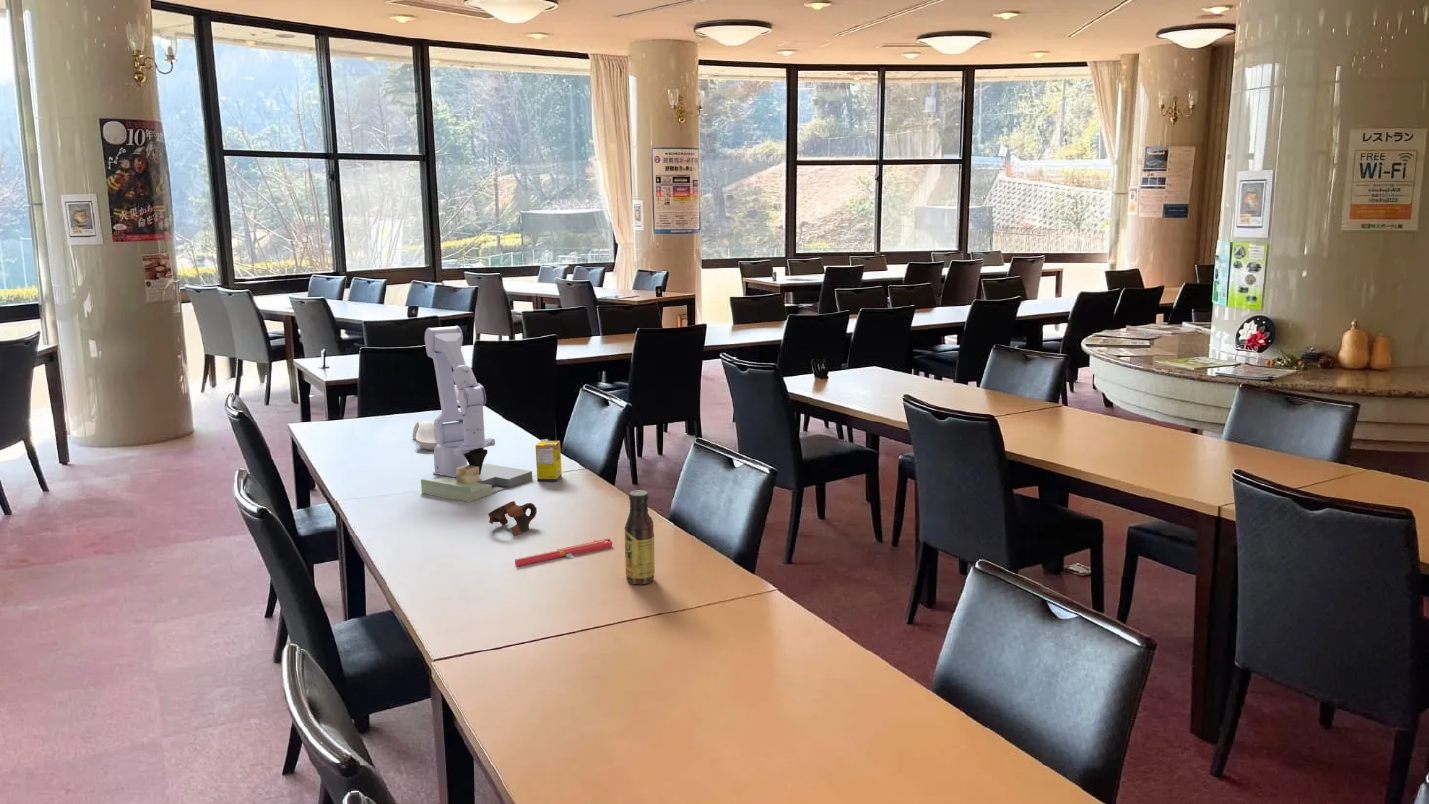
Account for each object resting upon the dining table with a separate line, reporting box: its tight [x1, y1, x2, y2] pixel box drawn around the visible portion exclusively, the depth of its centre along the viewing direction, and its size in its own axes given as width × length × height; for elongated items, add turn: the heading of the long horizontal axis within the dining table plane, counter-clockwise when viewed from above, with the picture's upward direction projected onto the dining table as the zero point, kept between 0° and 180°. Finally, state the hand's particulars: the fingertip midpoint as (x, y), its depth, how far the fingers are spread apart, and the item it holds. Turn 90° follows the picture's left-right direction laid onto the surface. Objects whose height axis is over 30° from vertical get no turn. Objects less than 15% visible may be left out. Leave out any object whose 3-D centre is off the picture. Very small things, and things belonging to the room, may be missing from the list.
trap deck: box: [420, 463, 533, 503], centre depth 291 cm, size 18×26×4 cm
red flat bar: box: [514, 538, 613, 567], centre depth 233 cm, size 24×2×5 cm
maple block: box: [455, 464, 480, 484], centre depth 287 cm, size 4×4×4 cm
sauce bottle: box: [624, 489, 656, 585], centre depth 215 cm, size 6×6×20 cm
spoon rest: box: [411, 420, 438, 451], centre depth 341 cm, size 24×12×7 cm, turn 33°
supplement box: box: [535, 440, 563, 482], centre depth 297 cm, size 6×6×11 cm
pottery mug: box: [487, 500, 538, 536], centre depth 253 cm, size 12×10×8 cm
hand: (476, 474), depth 290 cm, fingers closed
